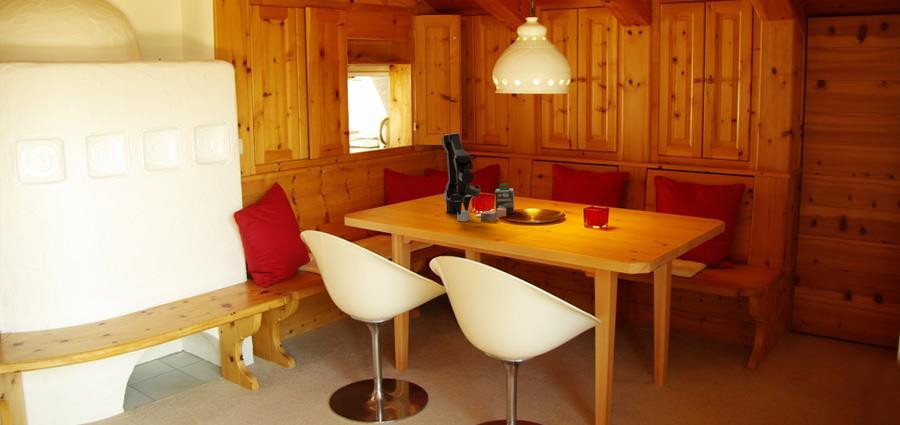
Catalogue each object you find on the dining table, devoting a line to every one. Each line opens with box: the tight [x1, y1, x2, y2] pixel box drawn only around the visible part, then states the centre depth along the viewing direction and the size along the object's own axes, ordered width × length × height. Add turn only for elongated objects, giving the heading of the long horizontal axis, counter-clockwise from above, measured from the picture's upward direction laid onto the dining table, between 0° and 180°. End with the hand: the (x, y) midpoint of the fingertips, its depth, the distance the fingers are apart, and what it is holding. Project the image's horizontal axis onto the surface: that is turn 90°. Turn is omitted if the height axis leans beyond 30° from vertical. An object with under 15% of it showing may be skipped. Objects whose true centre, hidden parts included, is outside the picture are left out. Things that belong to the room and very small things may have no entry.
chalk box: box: [494, 183, 515, 213], centre depth 439 cm, size 9×9×15 cm
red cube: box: [497, 208, 507, 218], centre depth 429 cm, size 4×4×4 cm
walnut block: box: [480, 210, 498, 223], centre depth 421 cm, size 6×6×4 cm
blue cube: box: [456, 209, 470, 222], centre depth 423 cm, size 4×4×4 cm
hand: (463, 212), depth 423 cm, fingers open, 9 cm apart
